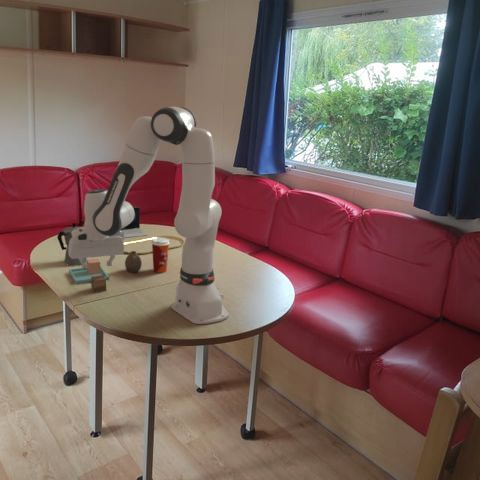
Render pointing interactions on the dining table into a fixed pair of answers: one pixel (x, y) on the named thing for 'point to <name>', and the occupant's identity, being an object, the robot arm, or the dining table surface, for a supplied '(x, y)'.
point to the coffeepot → (68, 236)
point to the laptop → (133, 226)
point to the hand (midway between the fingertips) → (96, 266)
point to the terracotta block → (93, 266)
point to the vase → (133, 262)
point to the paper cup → (160, 254)
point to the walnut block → (98, 283)
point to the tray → (85, 275)
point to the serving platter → (152, 239)
